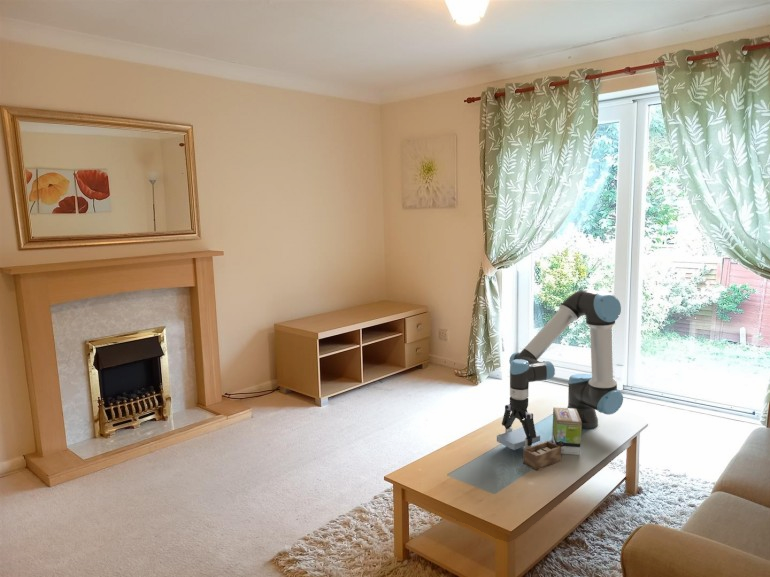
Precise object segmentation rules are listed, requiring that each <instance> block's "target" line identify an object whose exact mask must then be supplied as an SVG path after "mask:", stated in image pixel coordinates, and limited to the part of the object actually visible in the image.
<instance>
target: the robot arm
mask: <svg viewBox="0 0 770 577" xmlns="http://www.w3.org/2000/svg"><path fill="white" fill-rule="evenodd" d="M558 308H559V309H558V311H556V313H555V314H554V315H553V316H552V317H551V319H549V320H548V321H547V322H546V324H545V325H544V326H543V327H542V328H541V329H540V330H539V332H538V333H536V335H535V336H534V337H533V338H532V339H531V340H530V342H528V344H527V345H526V346H524V347H523V349H522V350H521V351H520V352H513V353H512V354H511V355H510V356H509V396H510V397H509V404H506V405H504V413H503V418H502V421H501V425H502V426H504V428H505V433H506V432H510V431H513V427H512V425H513V424H514V422H515V420H516V419H517V420H519V423H521V427H523V429H524V431H525V434H526V438H525V446H524V449H526V448H529V447H531V446H533V444H532V439H533V438H535V437H536V434H537V432H536V428H535V422H534V414H533V413H530V412H528V407H529V388H530V387H529V386H530V384H529V383H533V382H540V381H541V382H542V381H546V380H551V379H553V378H554V376H555V375H556V368H555V366H554V364H553V363H552V362H551V361H548V360H544V361H539V359H540V357H541V356H543V354H544V353H545V352H546V351H547V350H548V348H549V349H550V347H551V345H553V343H554V342H556V340H557V339H558V338H559V337H560V336H561V334H563V333H564V332H565V330H566V329H567V328H568V327H569V326H570V325H571V323H573V322H574V321H577V320H578V319H579V318H580V317H582V316H585V324H587V325H588V326H589V327H590V328H589V331H590V332H589V334H590V360H591V362H590V363H591V364H590V365H591V374H590V373H574V374H572V375H570V376H569V379H568V384H567V385H568V393H567V394H568V396H567V397H568V398H567V399H568V401H567V402H568V403H567V404H568V405H567V407H566V408H572V409H577V412H578V414H579V417H580V419H581V422H582V428H581V429H587V430H588V429H594V428H596V427H597V426H598V425H599V418H598V416H597V412H596V411H598V413H601V414H604V415H607V416H608V415H613V414H615V413H617V412H618V411H619V410H620V408H621V407H622V405H623V403H624V395H623V393H622V392H621V391H620V390H618V383H617V380H615V379H614V370H613V369H614V368H613V365H614V364H613V339H612V337H613V334H612V329H613V328H612V327H613V326H614V325H616V320H618V318H619V317H620V316H619V315H621V313H622V312H621V311H622V306H621V302H620V300H619V299H618V297H616V296H615V295H614V294H611V293H609V292H605V291H599V290H594V289H593V290H592V289H589V288H585V289H580V290H578V291H576V292H574V293H572V294H571V295H570V296H568V297H567V298H566V299H565V300H564V301H563V302H562V303H561V304H560V305H559V307H558Z"/></svg>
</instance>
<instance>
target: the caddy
mask: <svg viewBox="0 0 770 577" xmlns="http://www.w3.org/2000/svg"><path fill="white" fill-rule="evenodd" d="M561 461H562V454H561V447H560V446H558V445H556V444H554V443H553V441H552V442H551V441H549V440H545V441H542V442H540V443H537V444H534V445H531V447H529V448H526V449H525V448H523V451H522V464H524V465H525V466H527V467H528V468H531V469H532V470H535V471H539V470H542V469H544V468H547V467H549V466H550V467H551V465H554V464H557V463H560V462H561Z"/></svg>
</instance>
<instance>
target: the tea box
mask: <svg viewBox="0 0 770 577" xmlns="http://www.w3.org/2000/svg"><path fill="white" fill-rule="evenodd" d="M582 429H583V428H582V422H581V419H580V417H579V414H578V412H577V409H572V408H567V407H553V412H552V432H551V433H552V434H551V435H552V443H554V444H556V445H558V446H560V447H561V455H575V456H576V455H577V456H580V455H581V445H582V444H581V442H582Z"/></svg>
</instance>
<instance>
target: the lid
mask: <svg viewBox="0 0 770 577" xmlns="http://www.w3.org/2000/svg"><path fill="white" fill-rule="evenodd" d="M525 438H526V434H525V431H524V429H523V426H521V427H519V428H515V429H512V431H510V432H506V431H505V432H504V433H501V434H498V435H496V442H497V443H499V444H501V445H503V446H505V447H506V448H508V449H511V450H513V451H516V450H518V449H521V448H525ZM538 442H541V435H540V434H538V433H536V437H535V438H533V439H532V445H533V444H535V443H538Z"/></svg>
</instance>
